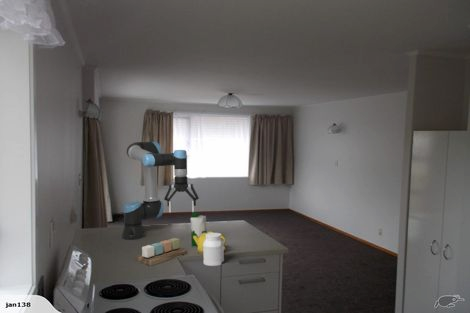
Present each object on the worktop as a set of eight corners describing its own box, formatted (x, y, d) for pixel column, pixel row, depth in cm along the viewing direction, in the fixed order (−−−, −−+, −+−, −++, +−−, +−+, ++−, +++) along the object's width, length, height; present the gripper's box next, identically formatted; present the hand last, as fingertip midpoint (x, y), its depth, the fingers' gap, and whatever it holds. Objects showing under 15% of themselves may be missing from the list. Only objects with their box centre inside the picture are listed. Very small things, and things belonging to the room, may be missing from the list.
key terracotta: (160, 250, 209) (159, 241, 209) (166, 248, 213) (166, 240, 213) (165, 252, 206) (165, 243, 206) (171, 250, 210) (171, 241, 210)
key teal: (151, 253, 205) (151, 244, 205) (158, 251, 208) (157, 242, 208) (156, 254, 202) (156, 245, 202) (163, 252, 205) (163, 243, 205)
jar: (219, 266, 191) (218, 238, 190) (201, 265, 193) (201, 237, 192) (225, 259, 202) (224, 232, 201) (208, 258, 204) (207, 231, 204)
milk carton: (194, 243, 235) (193, 211, 234) (208, 243, 233) (207, 212, 232) (189, 247, 226) (189, 214, 225) (204, 247, 224) (203, 215, 223)
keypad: (135, 260, 203) (135, 256, 202) (171, 249, 222) (170, 245, 221) (151, 266, 193) (151, 261, 193) (186, 254, 212) (186, 249, 212)
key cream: (142, 256, 200) (142, 246, 200) (149, 253, 204) (149, 245, 203) (147, 257, 197) (147, 248, 197) (154, 255, 201) (154, 246, 200)
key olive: (168, 248, 214) (168, 239, 214) (174, 246, 217) (174, 237, 217) (173, 249, 211) (173, 240, 211) (179, 247, 214) (179, 239, 214)
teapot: (189, 253, 214) (189, 233, 213) (197, 247, 225) (197, 228, 225) (222, 256, 208) (221, 235, 207) (228, 249, 220) (228, 230, 219)
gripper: (158, 177, 215) (159, 213, 215) (201, 176, 214) (202, 212, 215) (161, 175, 222) (162, 210, 223) (202, 175, 222) (203, 210, 222)
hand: (181, 211), depth 219 cm, fingers open, 13 cm apart
